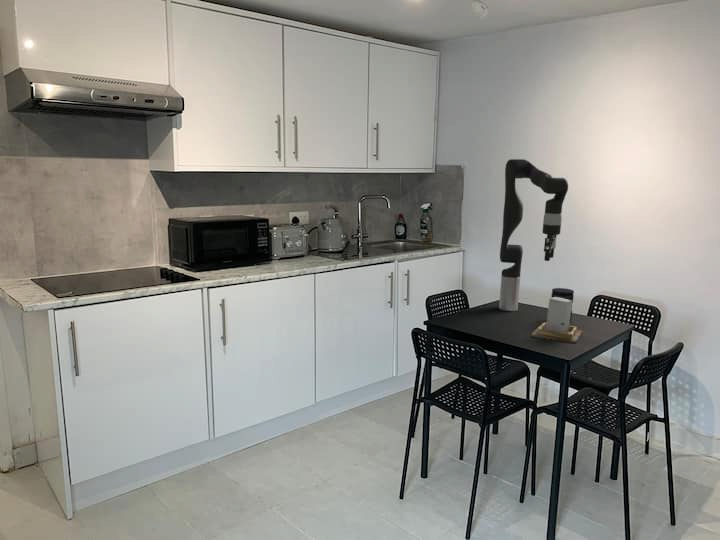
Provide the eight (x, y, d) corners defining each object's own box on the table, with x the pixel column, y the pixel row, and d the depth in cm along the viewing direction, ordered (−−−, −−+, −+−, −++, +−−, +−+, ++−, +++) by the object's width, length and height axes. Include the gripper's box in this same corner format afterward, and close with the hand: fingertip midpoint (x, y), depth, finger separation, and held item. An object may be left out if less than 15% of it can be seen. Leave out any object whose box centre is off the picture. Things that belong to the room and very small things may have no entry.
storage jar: (562, 317, 269) (564, 287, 267) (575, 323, 260) (578, 291, 258) (544, 319, 266) (547, 288, 264) (558, 324, 257) (560, 292, 255)
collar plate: (540, 326, 252) (540, 320, 252) (582, 333, 244) (582, 326, 243) (531, 336, 237) (531, 329, 236) (575, 343, 228) (576, 336, 228)
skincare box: (545, 331, 241) (547, 298, 239) (551, 328, 246) (553, 296, 243) (563, 335, 236) (567, 301, 233) (569, 332, 240) (572, 299, 237)
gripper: (546, 221, 253) (543, 255, 257) (540, 224, 241) (536, 260, 245) (563, 222, 250) (560, 257, 253) (558, 225, 238) (554, 262, 241)
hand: (548, 259), depth 249 cm, fingers open, 8 cm apart
